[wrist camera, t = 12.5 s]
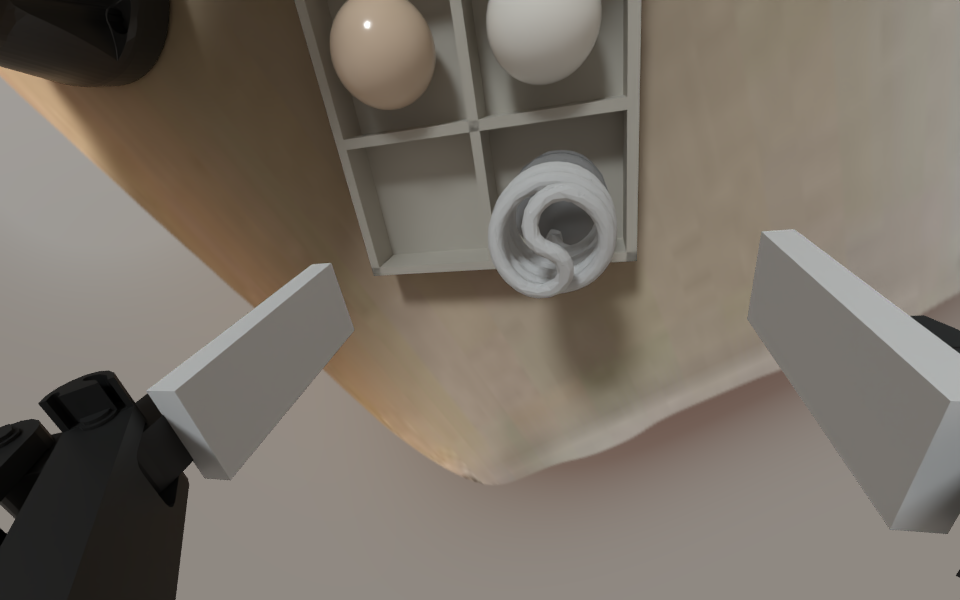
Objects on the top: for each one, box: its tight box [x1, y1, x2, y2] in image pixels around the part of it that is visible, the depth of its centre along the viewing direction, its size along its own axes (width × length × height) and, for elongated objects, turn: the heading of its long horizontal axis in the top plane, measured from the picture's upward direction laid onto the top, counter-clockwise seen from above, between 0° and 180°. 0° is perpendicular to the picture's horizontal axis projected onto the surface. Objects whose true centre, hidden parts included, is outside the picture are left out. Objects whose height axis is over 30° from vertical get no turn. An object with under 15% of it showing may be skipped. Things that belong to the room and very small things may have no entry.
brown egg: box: [330, 0, 436, 110], centre depth 23 cm, size 6×6×6 cm
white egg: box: [486, 0, 602, 85], centre depth 21 cm, size 6×6×6 cm
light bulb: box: [488, 150, 617, 298], centre depth 22 cm, size 6×6×12 cm
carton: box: [294, 0, 641, 276], centre depth 25 cm, size 18×18×3 cm
